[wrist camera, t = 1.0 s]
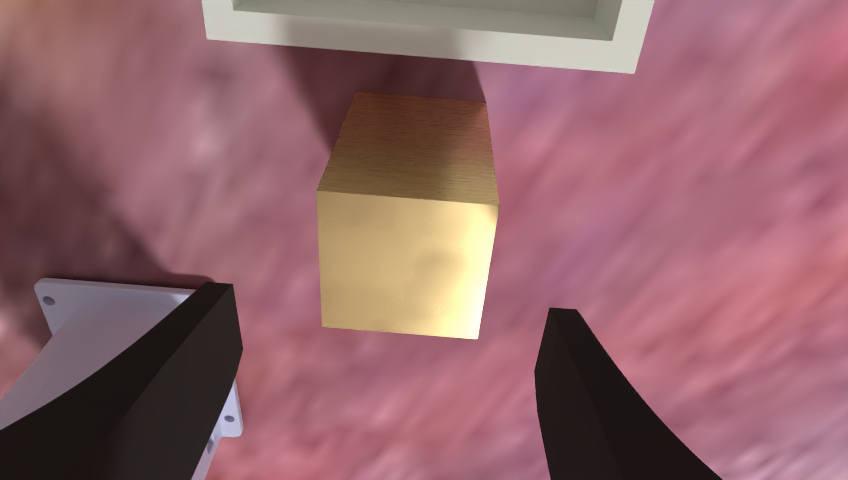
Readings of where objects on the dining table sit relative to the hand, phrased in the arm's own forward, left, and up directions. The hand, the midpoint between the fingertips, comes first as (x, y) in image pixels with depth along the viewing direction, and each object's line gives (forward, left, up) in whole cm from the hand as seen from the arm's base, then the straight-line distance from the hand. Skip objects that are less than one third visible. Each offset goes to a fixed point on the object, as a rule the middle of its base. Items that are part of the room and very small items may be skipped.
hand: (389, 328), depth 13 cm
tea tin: (0, 0, -10) cm, 10 cm away
